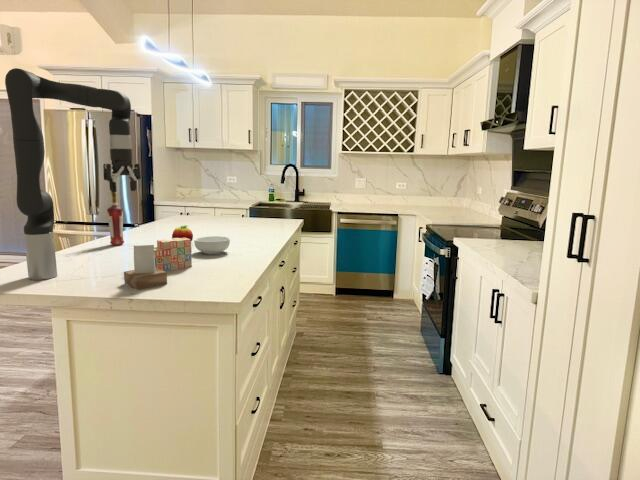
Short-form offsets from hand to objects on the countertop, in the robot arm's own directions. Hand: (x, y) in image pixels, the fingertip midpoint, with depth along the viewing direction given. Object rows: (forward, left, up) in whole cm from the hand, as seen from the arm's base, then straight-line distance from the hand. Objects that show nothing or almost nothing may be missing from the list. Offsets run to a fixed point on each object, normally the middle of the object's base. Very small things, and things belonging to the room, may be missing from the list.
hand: (123, 191), depth 165 cm
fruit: (-29, +57, -33) cm, 72 cm away
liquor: (-57, +38, -33) cm, 76 cm away
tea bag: (+14, -4, -29) cm, 32 cm away
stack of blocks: (+3, +15, -34) cm, 37 cm away
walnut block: (+14, -4, -34) cm, 37 cm away
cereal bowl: (-2, +50, -33) cm, 60 cm away
